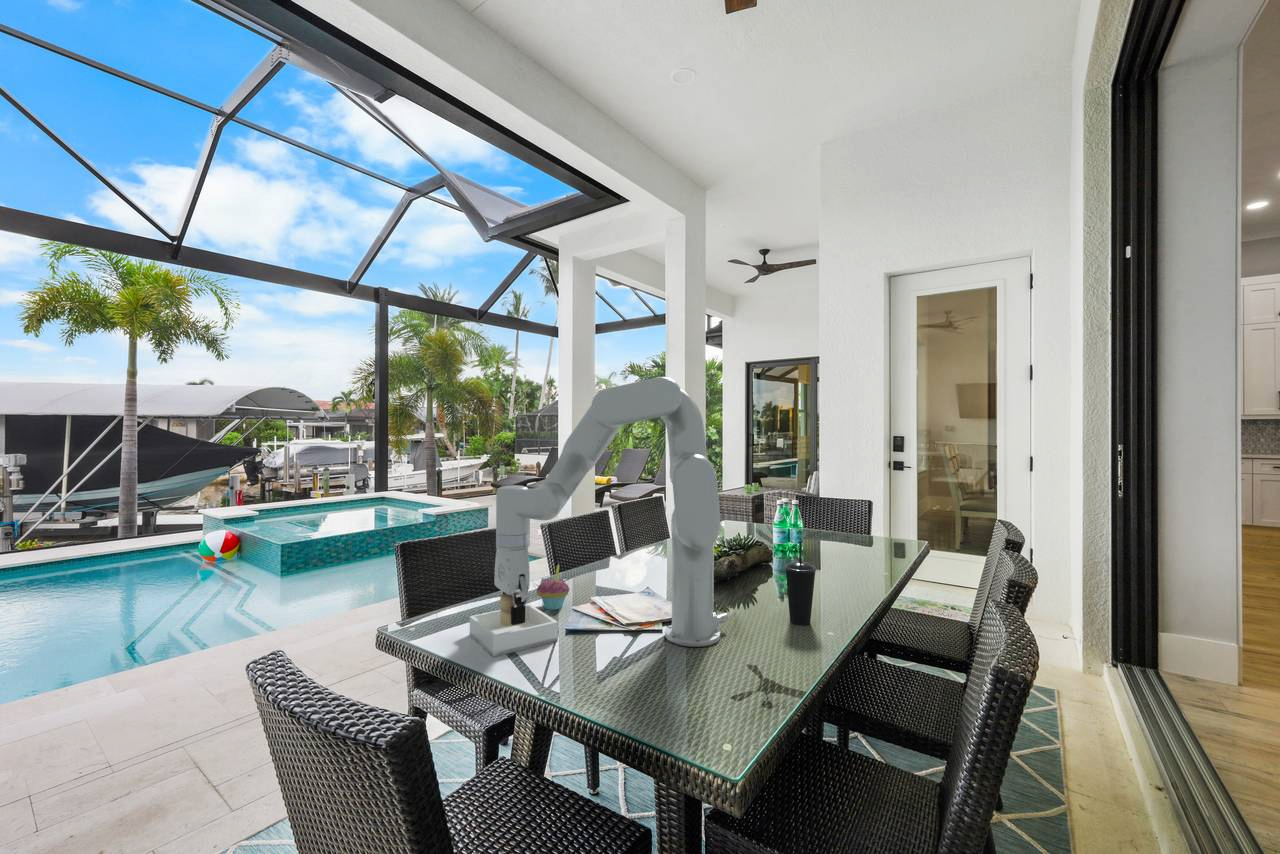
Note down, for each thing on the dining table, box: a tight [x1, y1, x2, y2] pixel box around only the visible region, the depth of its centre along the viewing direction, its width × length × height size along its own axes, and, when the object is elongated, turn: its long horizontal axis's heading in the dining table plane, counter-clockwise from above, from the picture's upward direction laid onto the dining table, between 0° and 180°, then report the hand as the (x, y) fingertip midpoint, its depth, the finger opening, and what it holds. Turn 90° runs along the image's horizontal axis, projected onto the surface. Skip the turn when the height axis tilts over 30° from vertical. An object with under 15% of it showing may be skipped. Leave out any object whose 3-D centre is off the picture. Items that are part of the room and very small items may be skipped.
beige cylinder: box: [499, 593, 523, 626], centre depth 127 cm, size 5×5×6 cm
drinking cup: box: [783, 540, 817, 626], centre depth 138 cm, size 8×8×20 cm
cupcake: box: [536, 562, 570, 610], centre depth 148 cm, size 9×8×12 cm
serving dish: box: [469, 603, 559, 658], centre depth 127 cm, size 15×15×4 cm
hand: (512, 618), depth 127 cm, fingers closed on beige cylinder, 5 cm apart
